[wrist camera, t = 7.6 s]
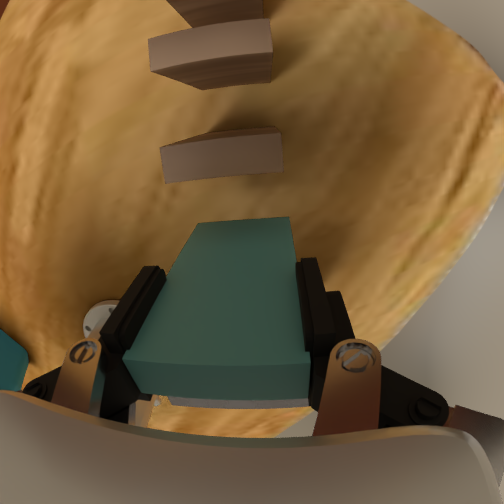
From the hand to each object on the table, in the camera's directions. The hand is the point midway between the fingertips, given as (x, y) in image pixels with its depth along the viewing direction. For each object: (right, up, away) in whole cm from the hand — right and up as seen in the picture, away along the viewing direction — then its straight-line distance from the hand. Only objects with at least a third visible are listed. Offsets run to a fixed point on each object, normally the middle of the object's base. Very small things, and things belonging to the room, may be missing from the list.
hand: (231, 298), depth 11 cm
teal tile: (0, +3, +5) cm, 6 cm away
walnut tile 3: (0, +15, +7) cm, 16 cm away
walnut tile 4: (0, +10, +9) cm, 14 cm away
